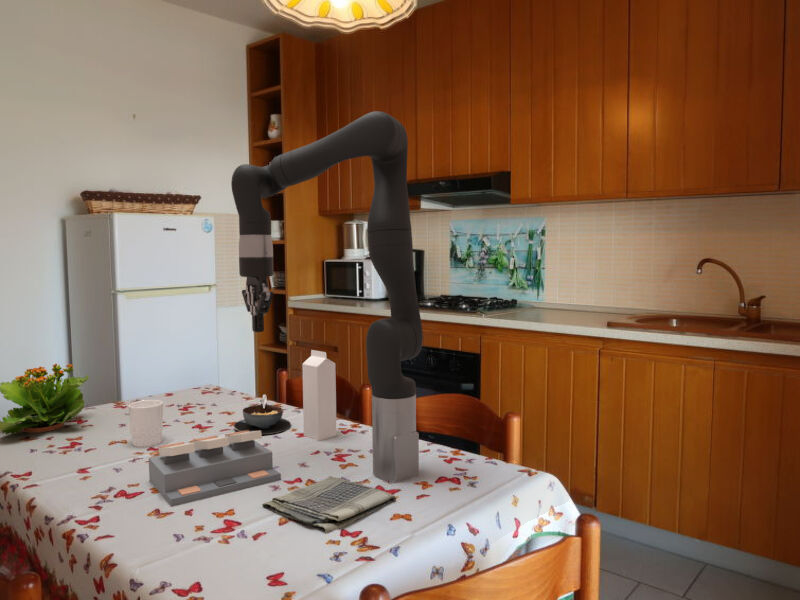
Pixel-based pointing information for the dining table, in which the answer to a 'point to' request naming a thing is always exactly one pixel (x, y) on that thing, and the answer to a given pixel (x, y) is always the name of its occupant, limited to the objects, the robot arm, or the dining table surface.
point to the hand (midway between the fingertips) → (258, 331)
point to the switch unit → (211, 471)
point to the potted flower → (42, 400)
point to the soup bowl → (263, 419)
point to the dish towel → (330, 503)
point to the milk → (319, 396)
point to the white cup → (146, 422)
